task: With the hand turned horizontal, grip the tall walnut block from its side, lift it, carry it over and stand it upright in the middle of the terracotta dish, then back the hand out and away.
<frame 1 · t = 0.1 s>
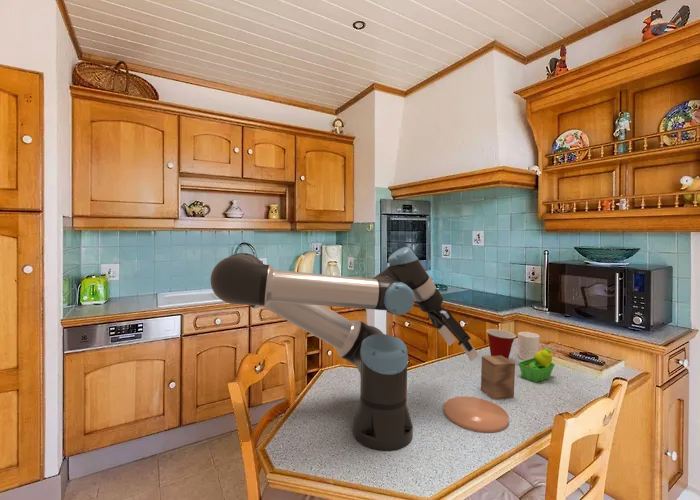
hand: (462, 350, 104), 15 cm above the table, tool tilted 35°, fingers open, 13 cm apart
fruit basket: (537, 378, 122), on the table
walnut block: (496, 393, 109), on the table
plastic cup: (500, 362, 137), on the table
white cup: (527, 358, 141), on the table
dish: (475, 415, 96), on the table
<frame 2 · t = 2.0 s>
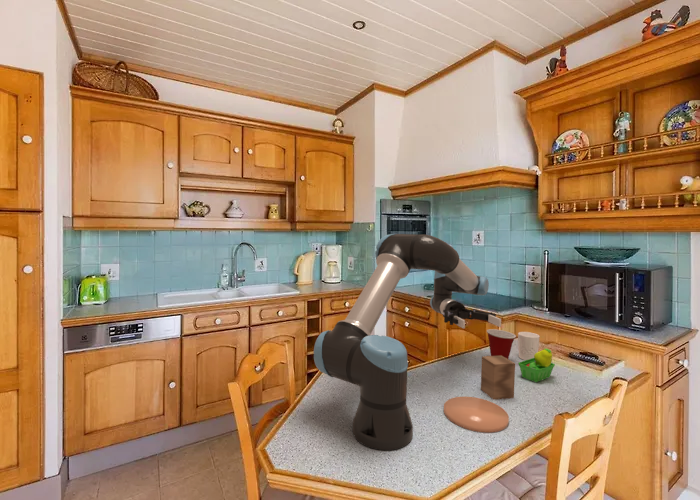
hand: (482, 323, 118), 20 cm above the table, tool horizontal, fingers open, 13 cm apart
nothing on the table moved.
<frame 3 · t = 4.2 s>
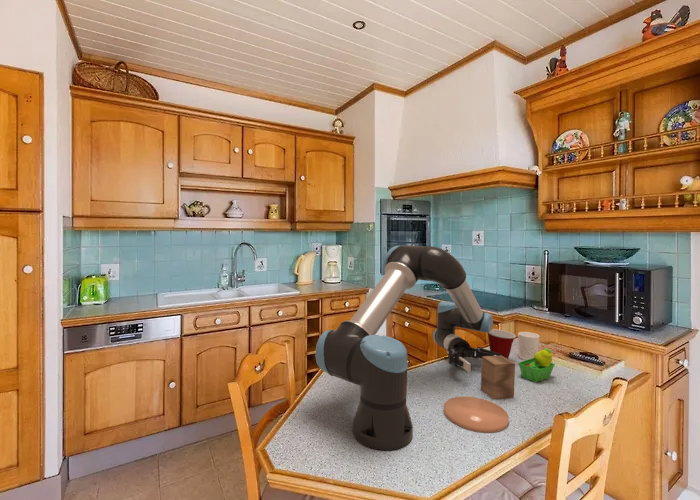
hand: (488, 366, 115), 6 cm above the table, tool horizontal, fingers open, 13 cm apart
nothing on the table moved.
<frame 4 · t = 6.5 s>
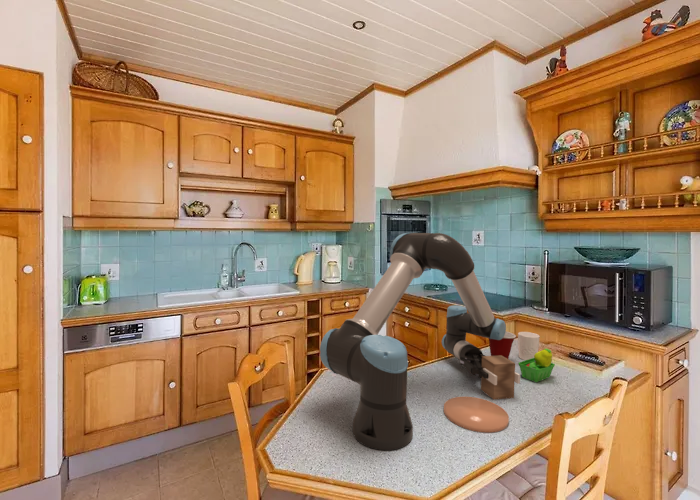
hand: (507, 379, 104), 7 cm above the table, tool horizontal, fingers closed on walnut block, 7 cm apart
walnut block: (496, 393, 109), on the table, touching gripper
everything else where it was.
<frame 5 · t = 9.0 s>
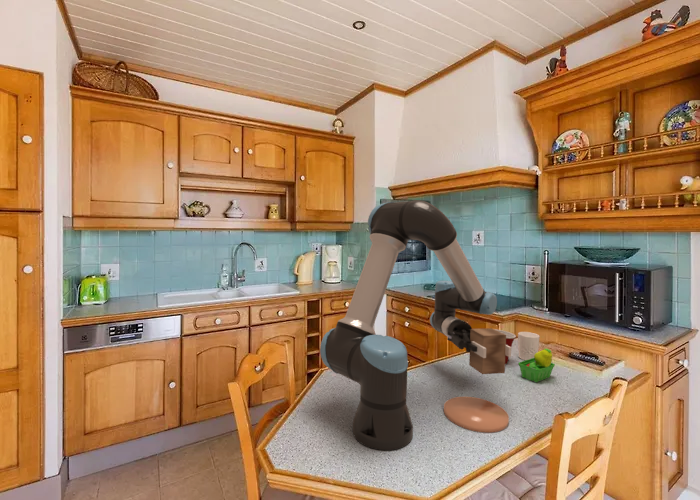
hand: (497, 352, 95), 18 cm above the table, tool horizontal, fingers closed on walnut block, 7 cm apart
walnut block: (486, 368, 101), point 11 cm above the table, touching gripper
everything else where it was.
when the fingers open (9 cm above the table, at t = 11.6 s): walnut block stays where it is, resting on dish.
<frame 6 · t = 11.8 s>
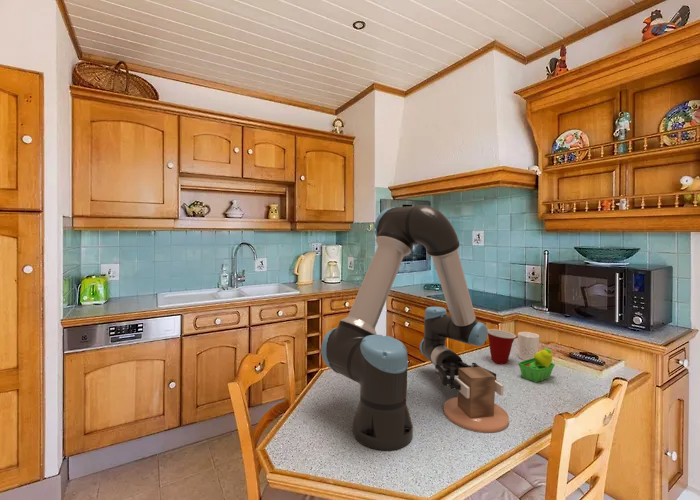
hand: (485, 391, 91), 9 cm above the table, tool horizontal, fingers open, 9 cm apart
walnut block: (475, 410, 96), point 1 cm above the table, touching dish
everything else where it was.
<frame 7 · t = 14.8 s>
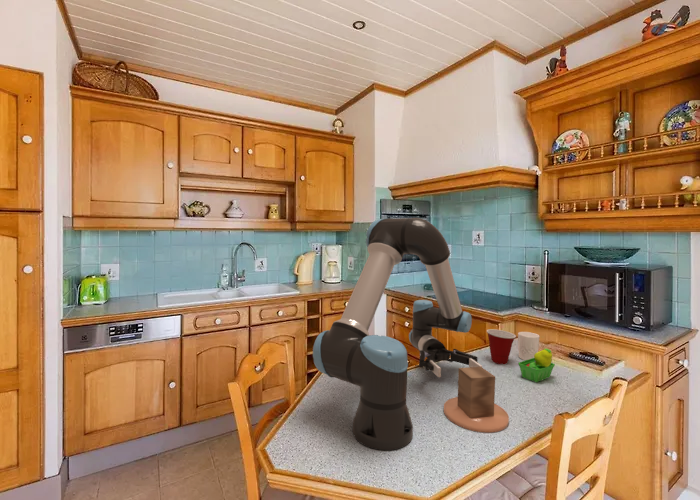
hand: (460, 371, 104), 9 cm above the table, tool horizontal, fingers open, 13 cm apart
nothing on the table moved.
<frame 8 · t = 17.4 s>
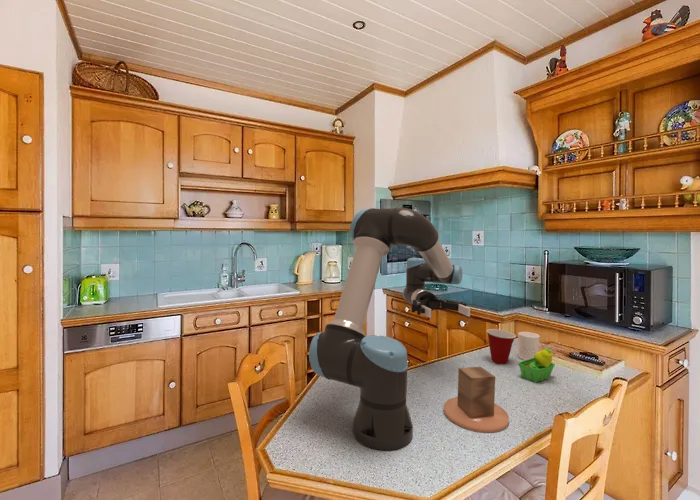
hand: (449, 313, 111), 25 cm above the table, tool horizontal, fingers open, 13 cm apart
nothing on the table moved.
at the end: walnut block inside the target area on the dish (0.0 cm from its centre), point 1.2 cm above the dish's base; walnut block tilted 0°; the gripper is holding nothing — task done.
